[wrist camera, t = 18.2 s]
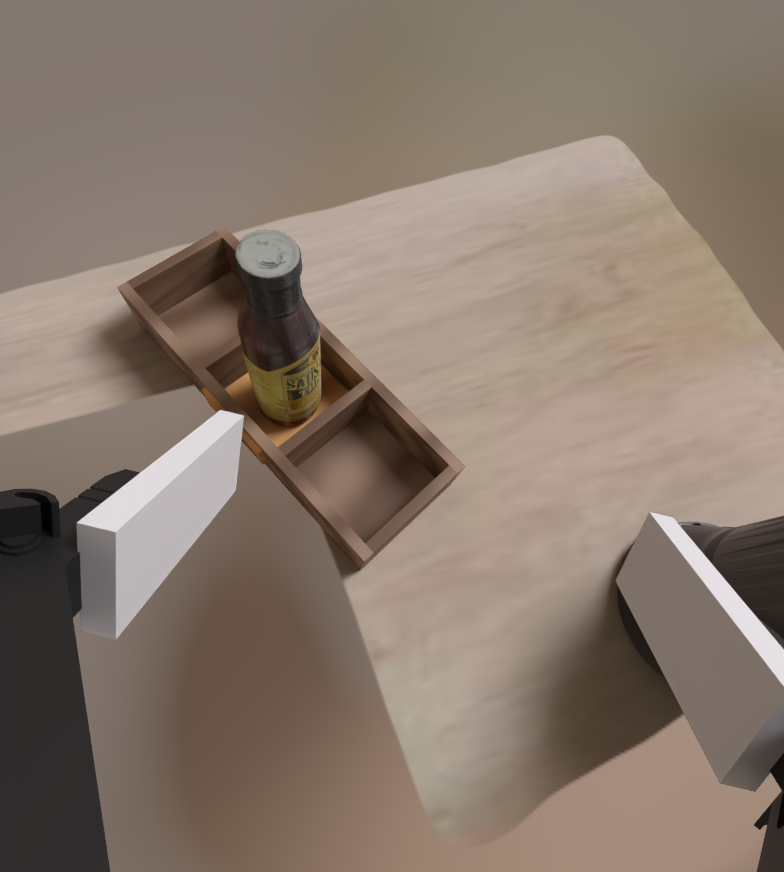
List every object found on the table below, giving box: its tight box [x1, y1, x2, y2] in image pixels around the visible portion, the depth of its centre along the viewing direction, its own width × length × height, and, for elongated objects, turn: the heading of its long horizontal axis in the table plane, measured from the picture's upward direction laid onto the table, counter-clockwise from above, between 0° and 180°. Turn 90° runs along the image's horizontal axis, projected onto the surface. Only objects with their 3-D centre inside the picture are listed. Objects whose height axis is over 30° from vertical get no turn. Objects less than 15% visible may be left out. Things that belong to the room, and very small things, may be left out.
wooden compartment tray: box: [117, 227, 465, 570], centre depth 47 cm, size 34×12×6 cm, turn 44°
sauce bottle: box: [235, 230, 321, 427], centre depth 39 cm, size 6×6×20 cm
